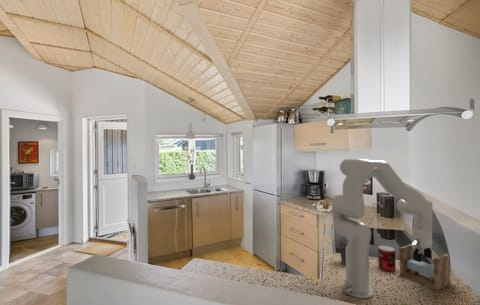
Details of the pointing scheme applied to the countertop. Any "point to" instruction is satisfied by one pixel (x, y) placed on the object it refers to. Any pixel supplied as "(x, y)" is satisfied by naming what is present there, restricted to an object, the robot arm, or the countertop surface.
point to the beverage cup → (343, 248)
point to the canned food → (386, 258)
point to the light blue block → (421, 267)
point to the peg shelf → (436, 283)
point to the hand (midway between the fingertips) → (422, 259)
